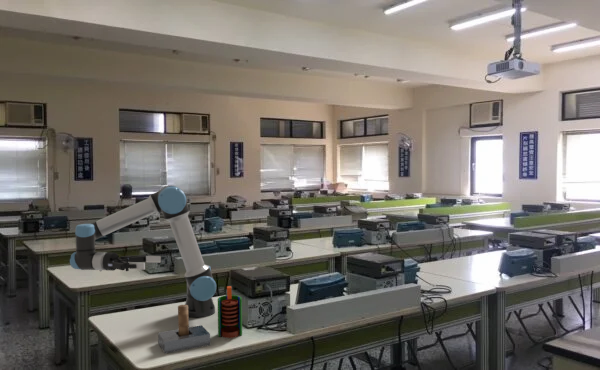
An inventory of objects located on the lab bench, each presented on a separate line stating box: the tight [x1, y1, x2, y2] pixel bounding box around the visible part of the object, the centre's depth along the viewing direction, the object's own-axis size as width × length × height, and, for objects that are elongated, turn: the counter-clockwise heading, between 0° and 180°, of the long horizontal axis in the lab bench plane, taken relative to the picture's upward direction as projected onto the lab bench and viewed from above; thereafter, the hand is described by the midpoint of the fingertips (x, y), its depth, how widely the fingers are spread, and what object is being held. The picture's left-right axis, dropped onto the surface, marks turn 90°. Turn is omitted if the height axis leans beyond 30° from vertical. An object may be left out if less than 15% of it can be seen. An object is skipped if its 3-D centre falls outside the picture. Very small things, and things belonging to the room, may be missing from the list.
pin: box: [177, 304, 190, 336], centre depth 195 cm, size 4×4×15 cm
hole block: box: [157, 324, 211, 354], centre depth 195 cm, size 18×12×4 cm, turn 117°
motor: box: [217, 285, 243, 339], centre depth 206 cm, size 10×9×20 cm
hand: (152, 262), depth 202 cm, fingers open, 13 cm apart
